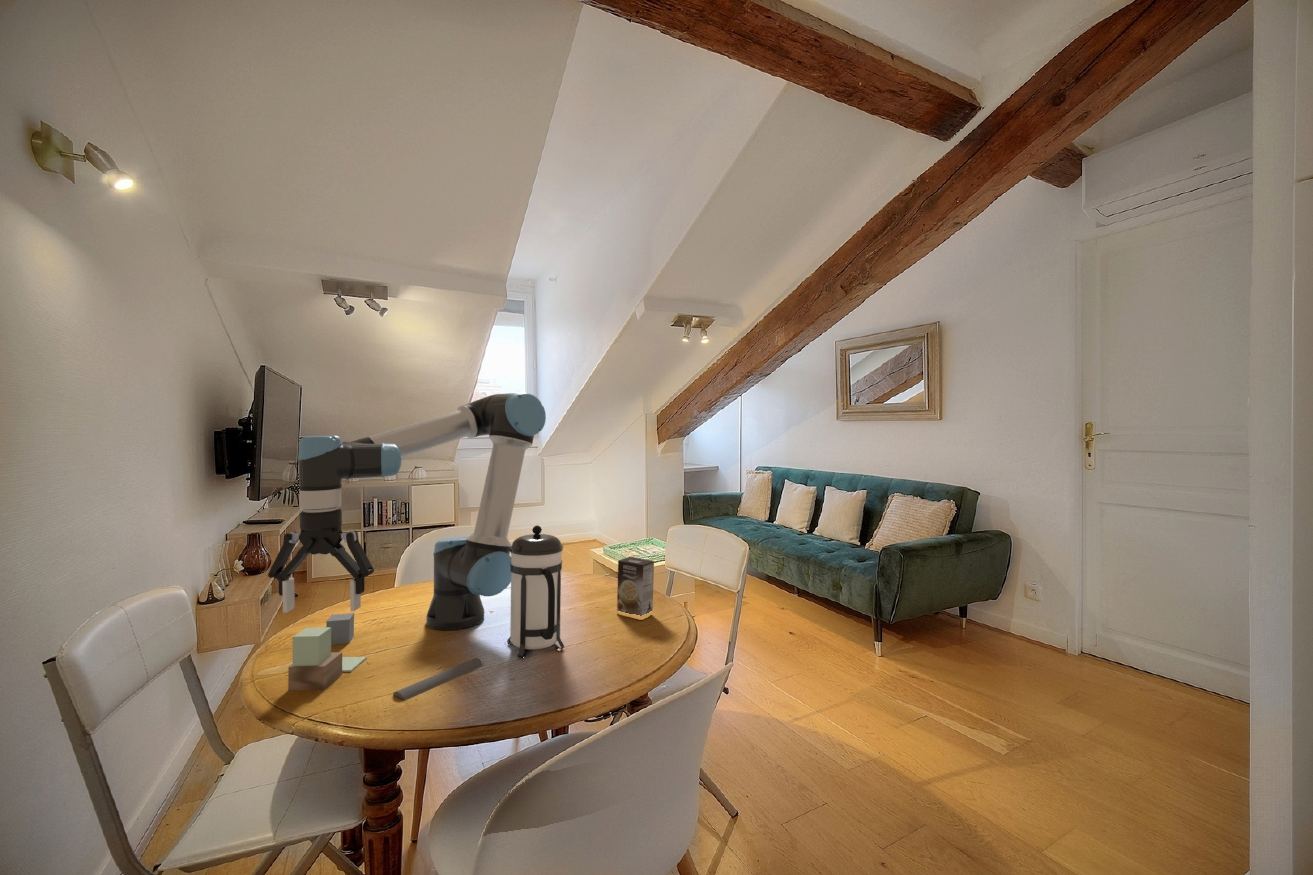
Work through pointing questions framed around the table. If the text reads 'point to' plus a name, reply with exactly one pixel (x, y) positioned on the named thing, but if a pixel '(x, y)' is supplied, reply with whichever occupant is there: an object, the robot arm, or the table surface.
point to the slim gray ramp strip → (438, 679)
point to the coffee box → (635, 586)
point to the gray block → (341, 628)
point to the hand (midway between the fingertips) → (322, 609)
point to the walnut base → (315, 674)
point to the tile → (351, 663)
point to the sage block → (311, 646)
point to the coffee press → (535, 592)
